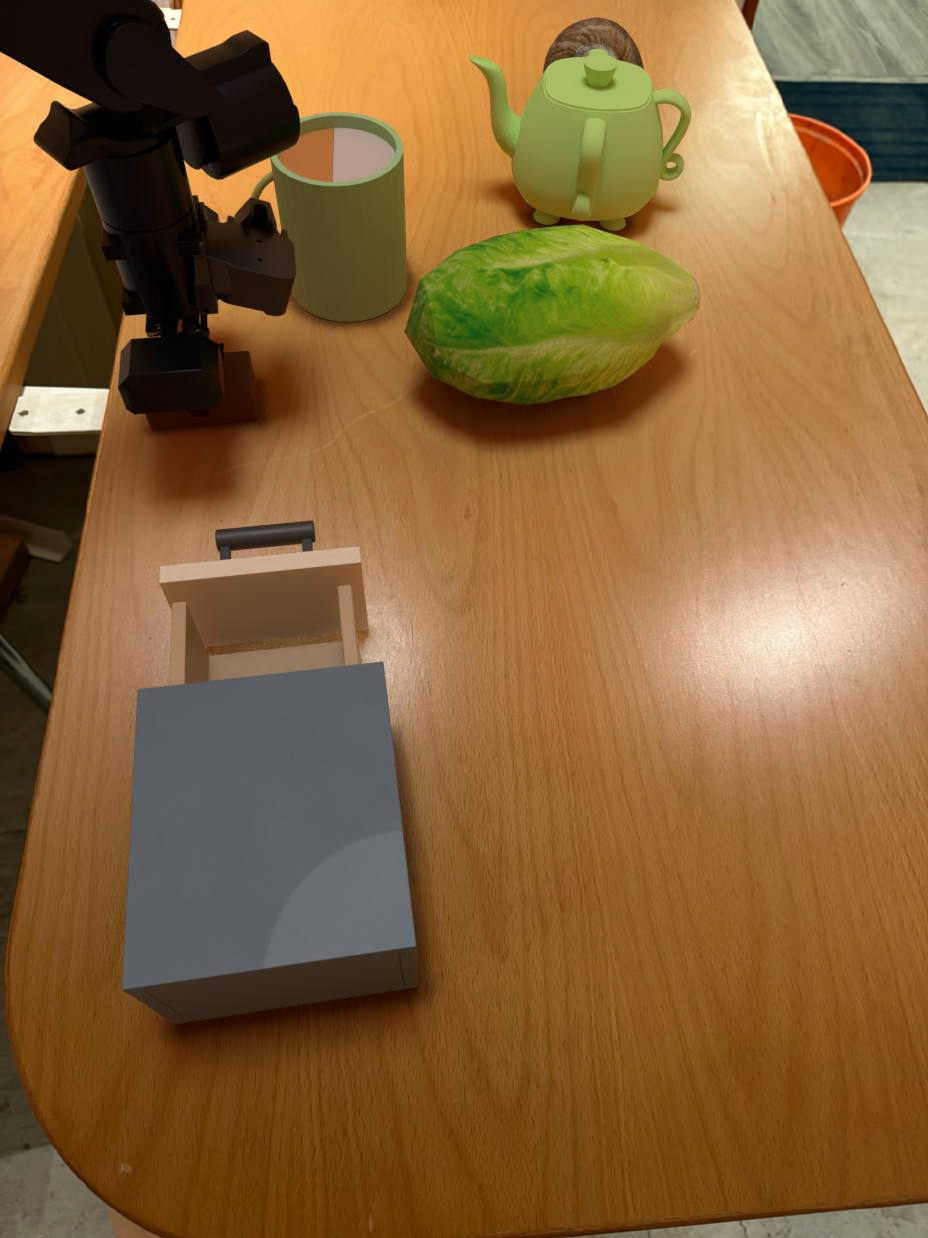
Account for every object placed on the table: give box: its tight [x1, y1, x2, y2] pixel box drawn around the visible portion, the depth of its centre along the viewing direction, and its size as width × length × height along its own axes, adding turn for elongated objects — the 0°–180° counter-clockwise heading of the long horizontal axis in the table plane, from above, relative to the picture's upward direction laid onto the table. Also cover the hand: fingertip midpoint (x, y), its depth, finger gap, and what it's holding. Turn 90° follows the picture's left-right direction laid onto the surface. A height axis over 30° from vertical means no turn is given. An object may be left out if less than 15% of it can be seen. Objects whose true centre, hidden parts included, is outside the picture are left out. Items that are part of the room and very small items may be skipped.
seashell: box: [542, 16, 645, 74], centre depth 91 cm, size 11×9×8 cm
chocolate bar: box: [145, 350, 259, 431], centre depth 68 cm, size 4×8×4 cm, turn 98°
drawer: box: [158, 519, 370, 686], centre depth 52 cm, size 18×11×7 cm, turn 8°
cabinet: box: [121, 660, 420, 1025], centre depth 46 cm, size 15×13×9 cm
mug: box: [250, 111, 408, 323], centre depth 73 cm, size 13×10×12 cm
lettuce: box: [404, 224, 701, 406], centre depth 67 cm, size 13×23×12 cm, turn 103°
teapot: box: [468, 49, 692, 232], centre depth 80 cm, size 16×14×13 cm
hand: (201, 395), depth 68 cm, fingers closed on chocolate bar, 4 cm apart
